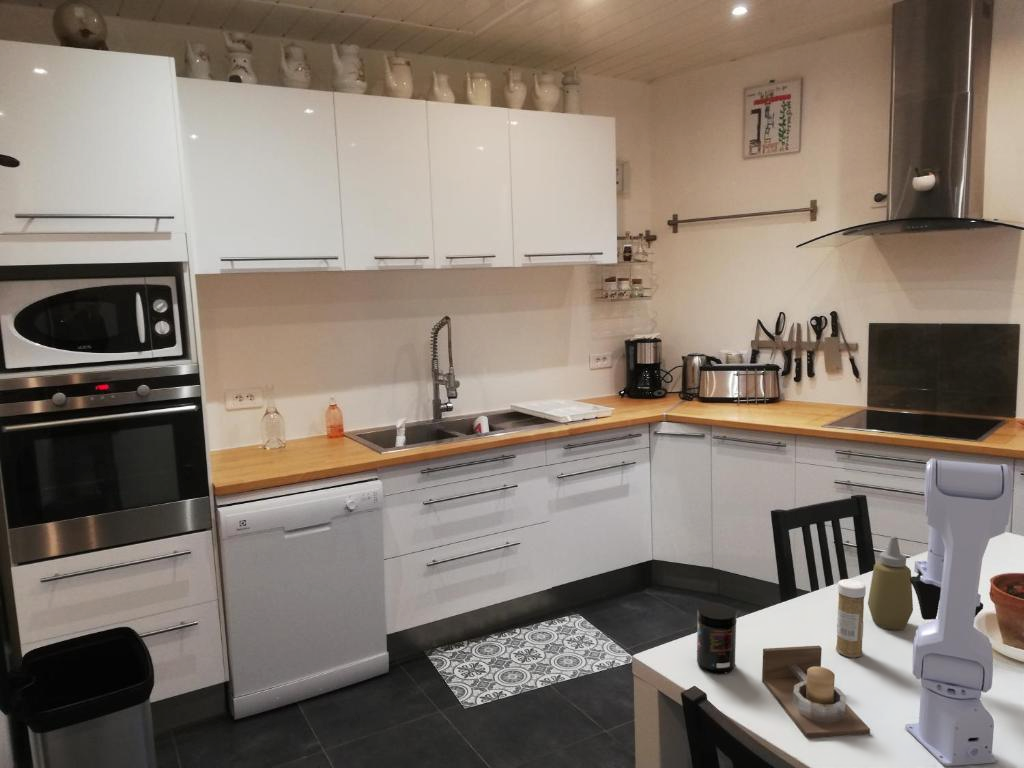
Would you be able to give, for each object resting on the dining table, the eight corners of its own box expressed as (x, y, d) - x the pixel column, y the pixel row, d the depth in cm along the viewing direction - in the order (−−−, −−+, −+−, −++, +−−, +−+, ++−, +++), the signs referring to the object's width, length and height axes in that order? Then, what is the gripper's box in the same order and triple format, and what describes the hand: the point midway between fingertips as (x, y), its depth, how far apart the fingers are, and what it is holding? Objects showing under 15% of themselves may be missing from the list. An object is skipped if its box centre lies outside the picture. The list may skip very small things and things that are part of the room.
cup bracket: (869, 733, 111) (871, 696, 110) (806, 738, 110) (807, 700, 109) (817, 678, 127) (819, 645, 126) (761, 681, 126) (763, 648, 125)
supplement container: (722, 654, 135) (723, 600, 134) (742, 672, 129) (744, 616, 128) (689, 659, 134) (690, 605, 132) (708, 678, 127) (709, 621, 126)
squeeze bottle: (921, 628, 144) (927, 541, 142) (891, 636, 141) (896, 547, 139) (887, 612, 151) (891, 528, 149) (857, 619, 149) (861, 533, 146)
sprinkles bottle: (867, 653, 135) (871, 584, 133) (853, 661, 132) (856, 590, 130) (844, 644, 138) (847, 576, 137) (830, 650, 136) (833, 581, 134)
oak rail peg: (838, 714, 115) (839, 678, 114) (814, 716, 114) (816, 680, 113) (824, 700, 119) (825, 665, 118) (800, 702, 118) (802, 667, 117)
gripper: (899, 538, 129) (895, 610, 131) (952, 569, 115) (946, 650, 117) (938, 536, 129) (933, 609, 131) (995, 568, 115) (989, 649, 117)
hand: (942, 628), depth 124 cm, fingers open, 7 cm apart
